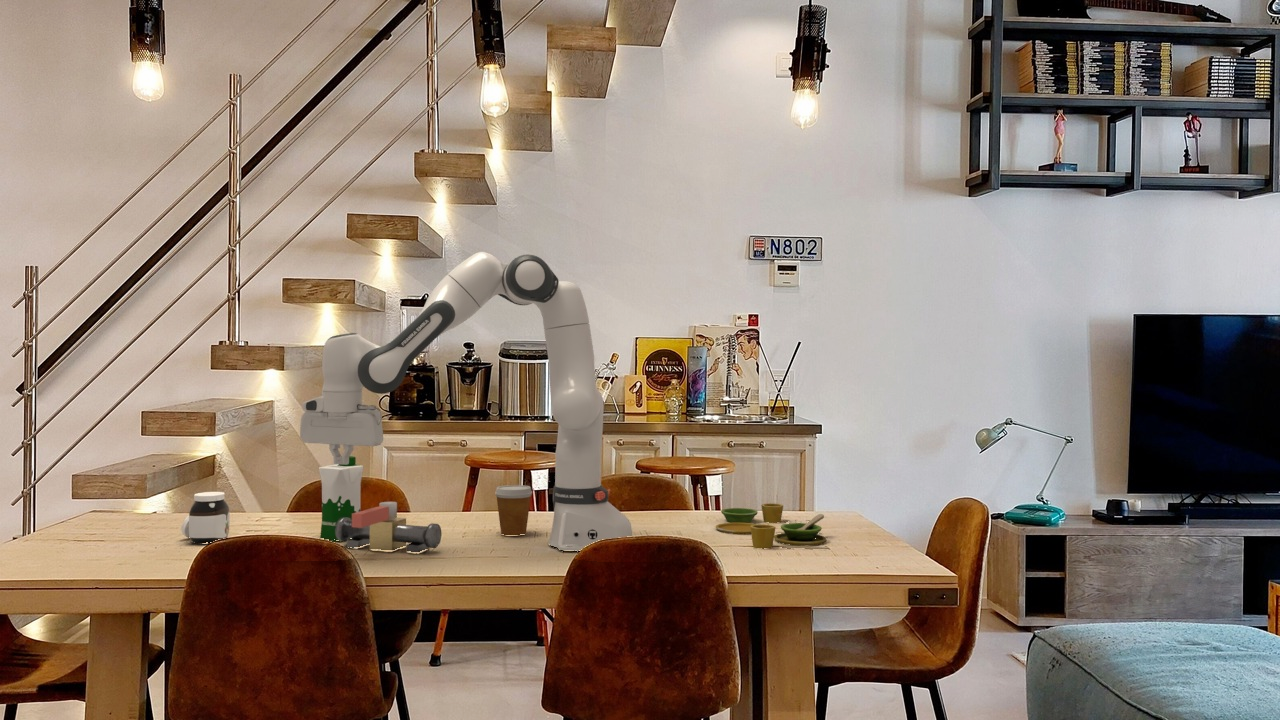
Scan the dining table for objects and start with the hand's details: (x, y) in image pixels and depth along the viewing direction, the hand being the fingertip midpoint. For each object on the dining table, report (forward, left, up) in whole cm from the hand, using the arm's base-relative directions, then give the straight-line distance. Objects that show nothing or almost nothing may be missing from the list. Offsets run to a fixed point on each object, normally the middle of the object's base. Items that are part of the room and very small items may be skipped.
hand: (341, 464), depth 219 cm
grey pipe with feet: (-7, -8, -21) cm, 23 cm away
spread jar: (+41, -2, -21) cm, 46 cm away
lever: (-7, -3, -13) cm, 15 cm away
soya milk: (+11, -15, -21) cm, 28 cm away
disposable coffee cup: (-27, -34, -21) cm, 48 cm away
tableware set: (-88, -58, -22) cm, 108 cm away
